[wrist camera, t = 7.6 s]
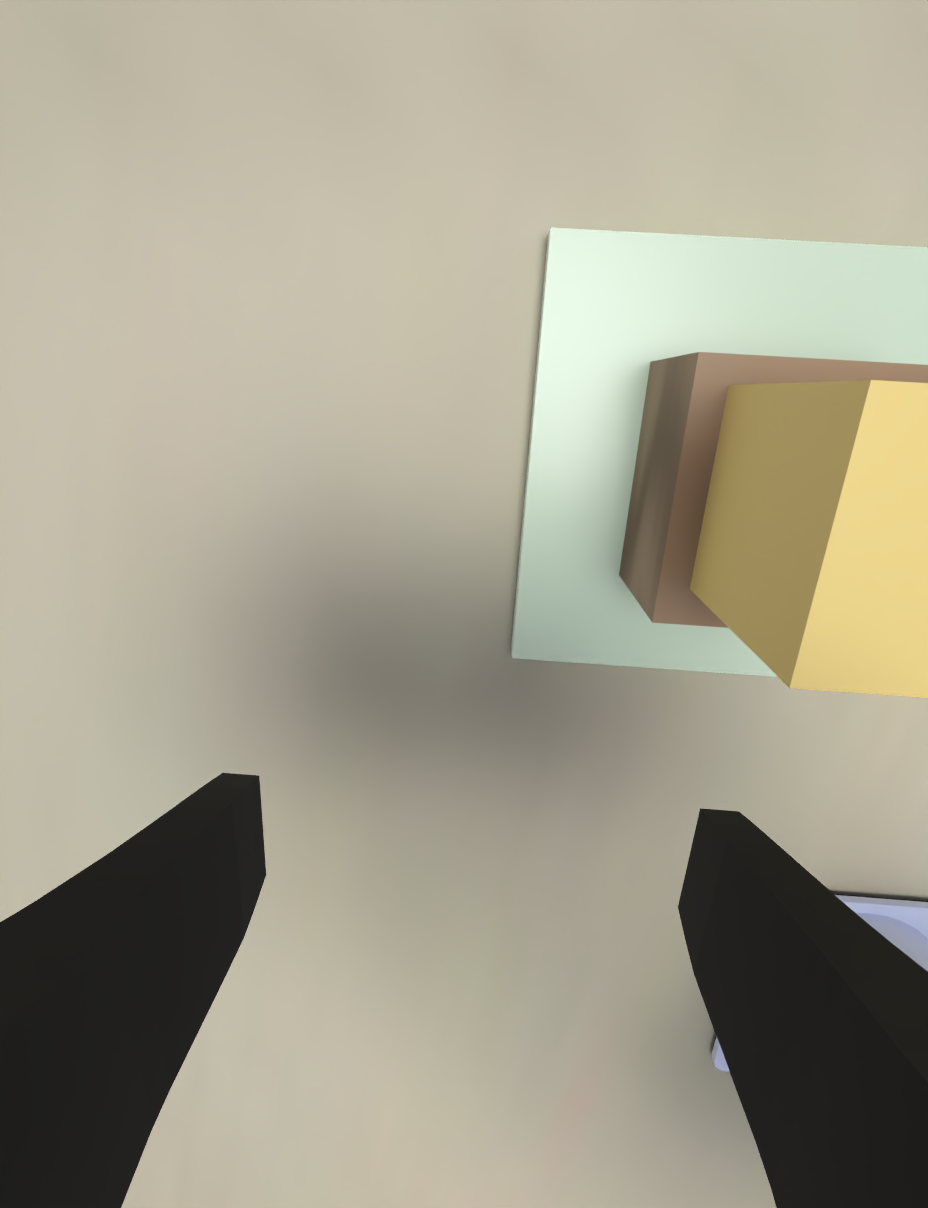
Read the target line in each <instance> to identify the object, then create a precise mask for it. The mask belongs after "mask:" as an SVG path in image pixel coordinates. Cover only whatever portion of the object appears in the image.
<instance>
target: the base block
mask: <svg viewBox="0 0 928 1208" xmlns="http://www.w3.org/2000/svg"><path fill="white" fill-rule="evenodd" d="M855 380H881V381H899V382H916V383H928V365H921V364H904V363H886V362H868V361H851V360H833V359H815V358H798V357H780V356H762V355H745V354H727V353H709V352H696V353H691V354H686V355H681V356H676V357H671V358H666V359H661V360H656V361H651V362H650V369H649V375H648V382H647V389H646V396H645V402H644V409H643V416H642V423H641V429H640V436H639V443H638V450H637V457H636V463H635V470H634V477H633V484H632V490H631V497H630V504H629V511H628V517H627V524H626V531H625V538H624V544H623V551H622V558H621V565H620V571H619V576H620V577H621V579H622V580H623V581H624V583H625V584H626V586H627V587H628V589H629V590H630V592H631V593H632V594H633V596H634V597H635V599H636V600H637V602H638V603H639V604H640V606H641V607H642V609H643V610H644V612H645V613H646V614H647V616H648V617H649V619H650V620H651V622H652V623H665V624H680V625H695V626H710V627H724V628H728V627H727V626H726V625H725V624H724V623H723V622H722V621H721V620H720V619H719V618H718V617H717V616H716V615H715V614H714V613H713V612H712V611H711V610H710V609H709V608H708V607H707V606H706V605H705V604H704V603H703V602H702V601H701V600H700V599H699V598H698V597H697V596H696V595H695V594H694V593H693V592H692V591H691V590H690V585H691V580H692V575H693V570H694V564H695V559H696V554H697V549H698V543H699V538H700V533H701V528H702V522H703V517H704V512H705V507H706V501H707V496H708V491H709V486H710V480H711V475H712V470H713V465H714V460H715V454H716V449H717V444H718V439H719V433H720V428H721V423H722V418H723V412H724V407H725V402H726V397H727V391H728V386H729V385H745V384H773V383H800V382H828V381H855Z"/></svg>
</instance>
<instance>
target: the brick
mask: <svg viewBox="0 0 928 1208" xmlns="http://www.w3.org/2000/svg"><path fill="white" fill-rule="evenodd" d="M690 590H691V591H692V592H693V593H694V594H695V595H696V596H697V597H698V598H699V599H700V600H701V601H702V602H703V603H704V604H705V605H706V606H707V607H708V608H709V609H710V610H711V611H712V612H713V613H714V614H715V615H716V616H717V617H718V618H719V619H720V620H721V621H722V622H723V623H724V624H725V625H726V626H727V627H728V628H729V629H730V630H731V631H732V632H733V633H734V634H735V635H736V636H737V637H739V638H740V639H741V640H742V641H743V642H744V643H745V644H746V645H747V646H748V647H749V648H750V649H751V650H752V651H753V652H754V653H755V654H756V655H757V656H758V657H759V658H760V659H761V660H762V661H763V662H764V663H765V664H766V665H767V666H768V667H769V668H770V669H771V670H772V671H773V672H774V673H775V674H776V675H777V676H778V677H779V678H780V679H781V680H782V681H783V682H784V683H785V684H786V685H787V686H788V687H789V688H795V689H810V690H824V691H838V692H853V693H867V694H881V695H896V696H910V697H924V698H928V383H916V382H899V381H881V380H855V381H828V382H800V383H773V384H745V385H729V386H728V391H727V397H726V402H725V407H724V412H723V418H722V423H721V428H720V433H719V439H718V444H717V449H716V454H715V460H714V465H713V470H712V475H711V480H710V486H709V491H708V496H707V501H706V507H705V512H704V517H703V522H702V528H701V533H700V538H699V543H698V549H697V554H696V559H695V564H694V570H693V575H692V580H691V585H690Z"/></svg>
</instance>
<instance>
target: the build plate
mask: <svg viewBox="0 0 928 1208" xmlns="http://www.w3.org/2000/svg"><path fill="white" fill-rule="evenodd" d="M696 352H709V353H727V354H745V355H762V356H780V357H798V358H815V359H833V360H851V361H868V362H886V363H904V364H921V365H928V247H913V246H894V245H875V244H855V243H836V242H817V241H797V240H778V239H759V238H740V237H720V236H701V235H682V234H663V233H643V232H624V231H605V230H586V229H566V228H550V231H549V234H548V239H547V250H546V262H545V273H544V284H543V295H542V307H541V318H540V329H539V340H538V352H537V363H536V374H535V385H534V396H533V408H532V419H531V430H530V441H529V453H528V464H527V475H526V486H525V498H524V509H523V520H522V531H521V543H520V554H519V565H518V576H517V588H516V599H515V610H514V621H513V633H512V644H511V654H512V658H514V659H528V660H543V661H557V662H572V663H586V664H600V665H615V666H629V667H644V668H658V669H672V670H687V671H701V672H716V673H730V674H745V675H759V676H773V677H778V676H777V675H776V674H775V673H774V672H773V671H772V670H771V669H770V668H769V667H768V666H767V665H766V664H765V663H764V662H763V661H762V660H761V659H760V658H759V657H758V656H757V655H756V654H755V653H754V652H753V651H752V650H751V649H750V648H749V647H748V646H747V645H746V644H745V643H744V642H743V641H742V640H741V639H740V638H739V637H737V636H736V635H735V634H734V633H733V632H732V631H731V630H730V629H729V628H724V627H710V626H695V625H680V624H665V623H652V622H651V620H650V619H649V617H648V616H647V614H646V613H645V612H644V610H643V609H642V607H641V606H640V604H639V603H638V602H637V600H636V599H635V597H634V596H633V594H632V593H631V592H630V590H629V589H628V587H627V586H626V584H625V583H624V581H623V580H622V579H621V577H620V576H619V571H620V565H621V558H622V551H623V544H624V538H625V531H626V524H627V517H628V511H629V504H630V497H631V490H632V484H633V477H634V470H635V463H636V457H637V450H638V443H639V436H640V429H641V423H642V416H643V409H644V402H645V396H646V389H647V382H648V375H649V369H650V362H651V361H656V360H661V359H666V358H671V357H676V356H681V355H686V354H691V353H696Z"/></svg>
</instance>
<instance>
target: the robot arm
mask: <svg viewBox="0 0 928 1208" xmlns="http://www.w3.org/2000/svg"><path fill="white" fill-rule="evenodd" d="M265 876H266V867H265V853H264V839H263V824H262V810H261V796H260V781H259V776H256V775H242V774H229V773H222V774H221V775H219V776H217V777H216V778H214V779H213V780H211V781H210V782H209V783H207V784H206V785H204V786H203V787H201V788H200V789H199V790H197V791H196V792H194V793H193V794H192V795H190V796H189V797H188V798H186V799H185V800H183V801H182V802H181V803H179V804H178V805H176V806H175V807H174V808H172V809H171V810H170V811H168V812H167V813H165V814H164V815H163V816H161V817H160V818H158V819H157V820H156V821H154V822H153V823H151V824H150V825H149V826H147V827H146V828H144V829H143V830H141V831H140V832H139V833H137V834H136V835H134V836H133V837H132V838H130V839H129V840H127V841H126V842H124V843H123V844H122V845H120V846H119V847H117V848H116V849H115V850H113V851H112V852H110V853H109V854H107V855H106V856H104V857H103V858H101V859H100V860H98V861H97V862H95V863H93V864H92V865H90V866H89V867H87V868H86V869H84V870H83V871H81V872H80V873H78V874H77V875H75V876H74V877H72V878H70V879H69V880H67V881H66V882H64V883H63V884H61V885H60V886H58V887H57V888H55V889H54V890H52V891H50V892H49V893H47V894H46V895H44V896H43V897H41V898H40V899H38V900H37V901H35V902H33V903H32V904H30V905H28V906H27V907H25V908H24V909H22V910H20V911H19V912H17V913H15V914H14V915H12V916H10V917H9V918H7V919H5V920H3V921H2V922H0V1208H121V1206H122V1204H123V1201H124V1199H125V1196H126V1194H127V1191H128V1188H129V1186H130V1183H131V1181H132V1178H133V1176H134V1173H135V1171H136V1168H137V1166H138V1163H139V1161H140V1158H141V1156H142V1153H143V1150H144V1148H145V1145H146V1143H147V1140H148V1138H149V1135H150V1133H151V1130H152V1128H153V1126H154V1124H155V1121H156V1119H157V1117H158V1115H159V1113H160V1110H161V1108H162V1106H163V1104H164V1101H165V1099H166V1097H167V1095H168V1092H169V1090H170V1088H171V1086H172V1084H173V1082H174V1080H175V1078H176V1076H177V1074H178V1072H179V1070H180V1068H181V1066H182V1064H183V1062H184V1060H185V1058H186V1056H187V1054H188V1052H189V1050H190V1048H191V1045H192V1043H193V1041H194V1039H195V1037H196V1035H197V1033H198V1031H199V1029H200V1027H201V1025H202V1023H203V1021H204V1019H205V1017H206V1015H207V1013H208V1011H209V1009H210V1007H211V1005H212V1003H213V1001H214V999H215V997H216V994H217V992H218V990H219V988H220V986H221V984H222V982H223V980H224V978H225V976H226V974H227V972H228V970H229V968H230V966H231V963H232V961H233V959H234V957H235V955H236V953H237V951H238V949H239V947H240V945H241V942H242V940H243V938H244V936H245V933H246V930H247V928H248V925H249V922H250V919H251V917H252V914H253V911H254V909H255V906H256V903H257V900H258V897H259V894H260V891H261V888H262V885H263V882H264V879H265ZM678 909H679V913H680V918H681V922H682V926H683V931H684V935H685V940H686V944H687V948H688V952H689V956H690V960H691V963H692V967H693V971H694V975H695V978H696V980H697V983H698V986H699V989H700V992H701V995H702V997H703V1000H704V1003H705V1006H706V1008H707V1011H708V1014H709V1017H710V1019H711V1022H712V1025H713V1028H714V1030H715V1033H716V1036H717V1037H716V1040H715V1044H714V1047H713V1051H712V1060H713V1063H714V1066H715V1067H716V1068H717V1069H719V1070H721V1071H726V1072H730V1074H731V1076H732V1079H733V1082H734V1084H735V1087H736V1090H737V1092H738V1095H739V1098H740V1101H741V1103H742V1106H743V1109H744V1111H745V1114H746V1117H747V1119H748V1122H749V1125H750V1128H751V1130H752V1133H753V1136H754V1138H755V1141H756V1144H757V1147H758V1150H759V1153H760V1156H761V1159H762V1162H763V1165H764V1168H765V1171H766V1174H767V1177H768V1180H769V1183H770V1186H771V1189H772V1193H773V1196H774V1200H775V1203H776V1207H777V1208H928V902H918V901H906V900H893V899H880V898H867V897H854V896H841V895H834V894H833V893H832V892H831V891H829V890H828V889H827V888H826V887H825V886H824V885H823V884H821V883H820V882H819V881H818V880H817V879H816V878H815V877H813V876H812V875H811V874H810V873H809V872H808V871H807V870H806V869H804V868H803V867H802V866H801V865H800V864H799V863H798V862H797V861H795V860H794V859H793V858H792V857H791V856H790V855H789V854H787V853H786V852H785V851H784V850H783V849H782V848H781V847H780V846H778V845H777V844H776V843H775V842H774V841H773V840H772V839H770V838H769V837H768V836H767V835H766V834H765V833H764V832H763V831H761V830H760V829H759V828H758V827H757V826H756V825H754V824H753V823H752V822H751V821H750V820H748V819H747V818H746V817H745V816H743V815H742V814H741V813H740V812H737V811H724V810H711V809H700V812H699V817H698V821H697V826H696V830H695V835H694V839H693V843H692V848H691V852H690V857H689V861H688V865H687V870H686V874H685V879H684V883H683V888H682V892H681V896H680V901H679V905H678Z"/></svg>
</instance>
